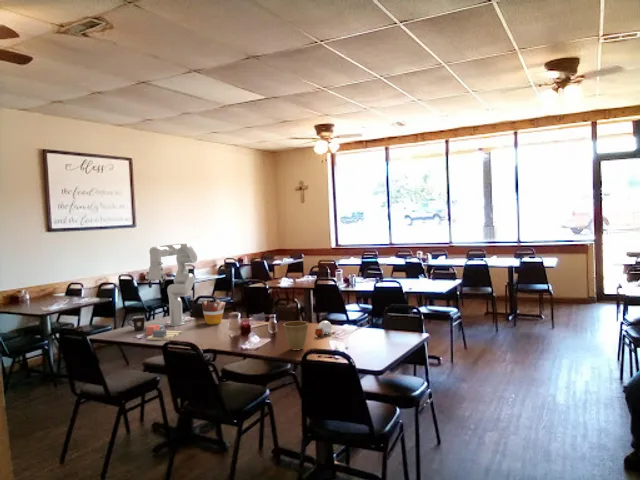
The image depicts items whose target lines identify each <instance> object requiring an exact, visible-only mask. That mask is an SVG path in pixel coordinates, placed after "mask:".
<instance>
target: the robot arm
mask: <svg viewBox="0 0 640 480" xmlns="http://www.w3.org/2000/svg"><path fill="white" fill-rule="evenodd" d="M148 251H149V252H148V253H149V260H150V261H149V264H150V265H149V268H148V274H146V275H145V276H144V277H145V280H146V281H147V285H148V289H151V288H153V282H152V281H160V289H164V288H165V282H166V281H167V278H168V276H167V275H166V274H165V273H164V267H163V263H164V262H162V258H164V257H169V256H170V257H172V256H176V257H175V258H176V259H175V260H176V263H177V270H176V273H175V275H174V278H173V283H172V284H169V285H168V286H167V289H166V291H167V295H168V302H169V303H168V304H169V305H168V306H169V307H168V308H169V322H168V324H167V326H171V327H178V326H183V325H185V324H186V323H185V321H184V320H185V319H186V317H183V301H182V299H181V297H188V296H189V295H190V294H191V291H192V288H193V286H194V284H195V283H194V282H195V276H194V274H193V273H191V272H189V267H188V265H186V264H194V263H196V262H197V260H198V255H197V253H196V252H195V250H194V248H193V246H192V245H191V244H190V243H173V244H166V245H165V244H164V245H155V246H151V247H150V249H149V250H148Z"/></svg>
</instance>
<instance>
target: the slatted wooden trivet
mask: <svg viewBox="0 0 640 480" xmlns="http://www.w3.org/2000/svg"><path fill="white" fill-rule="evenodd" d="M166 334H167V336H165V337H153V335H148V336H146V340H155V341H157V340H161V341H169V340H171V339H173V338H175V337H178V336H179V335H181V334H183V331H182V330H166Z"/></svg>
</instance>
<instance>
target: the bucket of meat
mask: <svg viewBox="0 0 640 480" xmlns="http://www.w3.org/2000/svg"><path fill="white" fill-rule="evenodd" d="M201 304H202V306H201V307H202V308H201V309H202V312H203V313H202V314H203V316H204V321H205V323H206V324H207V325H219V324H221V323H222V320H223V317H224V310H225V306H226V302H225V301H220V300H219V299H217V298H216V300H215V301H213V302H210V300H209V299H207V300H204V301H201Z"/></svg>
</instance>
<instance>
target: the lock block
mask: <svg viewBox="0 0 640 480" xmlns="http://www.w3.org/2000/svg"><path fill="white" fill-rule="evenodd" d="M160 325H161V324H150V325H147V326H145V335H146V336H151V335H153V331H155V330H161V329H160V328H161V327H160Z"/></svg>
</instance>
